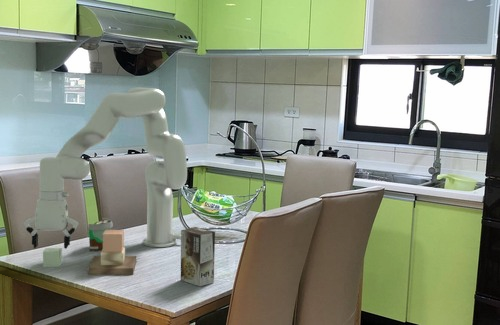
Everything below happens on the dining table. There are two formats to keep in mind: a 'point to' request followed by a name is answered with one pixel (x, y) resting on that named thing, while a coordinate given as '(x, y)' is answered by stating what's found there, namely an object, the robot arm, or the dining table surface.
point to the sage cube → (52, 257)
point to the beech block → (112, 258)
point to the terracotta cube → (113, 240)
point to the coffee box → (197, 256)
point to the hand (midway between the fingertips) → (50, 247)
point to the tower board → (112, 266)
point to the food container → (98, 233)
